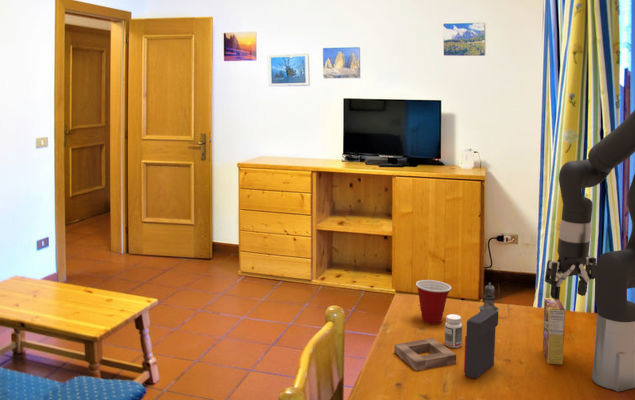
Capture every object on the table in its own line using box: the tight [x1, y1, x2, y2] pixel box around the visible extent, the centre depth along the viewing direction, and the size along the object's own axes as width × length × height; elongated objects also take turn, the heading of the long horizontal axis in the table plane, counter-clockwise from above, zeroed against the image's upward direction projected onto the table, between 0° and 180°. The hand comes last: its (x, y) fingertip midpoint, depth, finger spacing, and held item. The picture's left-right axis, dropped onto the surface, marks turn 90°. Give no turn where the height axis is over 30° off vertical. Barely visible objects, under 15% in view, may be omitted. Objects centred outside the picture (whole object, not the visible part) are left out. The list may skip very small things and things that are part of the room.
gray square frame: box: [393, 337, 457, 372], centre depth 171 cm, size 12×12×2 cm
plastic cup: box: [415, 279, 452, 325], centre depth 197 cm, size 11×11×12 cm
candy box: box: [542, 297, 566, 365], centre depth 169 cm, size 9×4×15 cm, turn 168°
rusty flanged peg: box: [478, 282, 499, 312], centre depth 198 cm, size 6×6×12 cm
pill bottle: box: [444, 313, 463, 349], centre depth 179 cm, size 5×5×8 cm
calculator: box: [463, 308, 499, 380], centre depth 162 cm, size 11×4×15 cm, turn 141°
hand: (568, 296), depth 166 cm, fingers open, 8 cm apart
